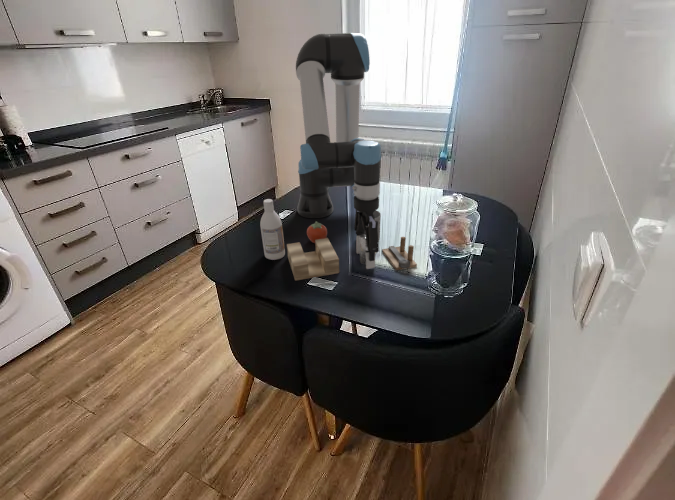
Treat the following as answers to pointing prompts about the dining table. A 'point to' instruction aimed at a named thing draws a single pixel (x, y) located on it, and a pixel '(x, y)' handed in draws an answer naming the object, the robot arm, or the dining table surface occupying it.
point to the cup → (378, 218)
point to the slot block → (313, 260)
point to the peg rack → (400, 256)
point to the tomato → (316, 232)
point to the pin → (363, 249)
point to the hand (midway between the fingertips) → (365, 260)
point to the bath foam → (272, 232)
